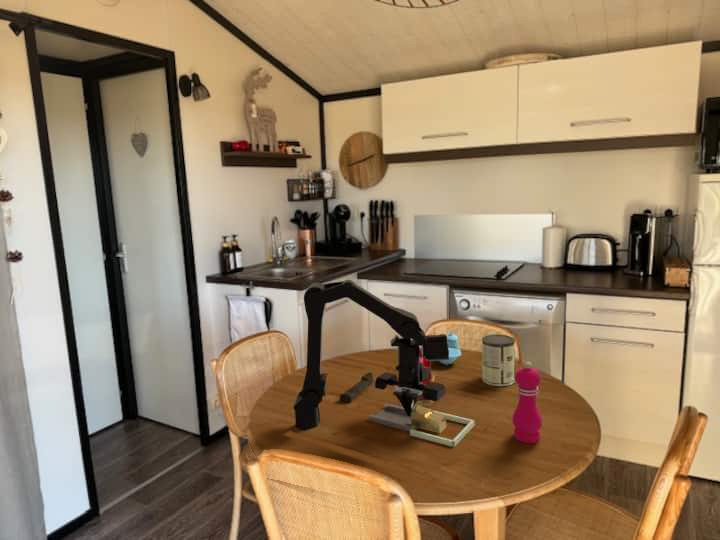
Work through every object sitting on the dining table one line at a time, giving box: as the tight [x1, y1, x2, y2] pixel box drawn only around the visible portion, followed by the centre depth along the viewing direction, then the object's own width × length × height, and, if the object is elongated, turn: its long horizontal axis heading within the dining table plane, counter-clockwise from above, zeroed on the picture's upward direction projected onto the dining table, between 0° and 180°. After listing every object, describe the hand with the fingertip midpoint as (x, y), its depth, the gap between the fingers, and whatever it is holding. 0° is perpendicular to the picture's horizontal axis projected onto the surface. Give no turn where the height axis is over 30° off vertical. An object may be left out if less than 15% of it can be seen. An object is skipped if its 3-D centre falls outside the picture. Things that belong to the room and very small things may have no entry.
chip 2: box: [425, 413, 447, 434], centre depth 135 cm, size 4×4×4 cm
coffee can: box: [481, 334, 516, 387], centre depth 167 cm, size 10×10×14 cm
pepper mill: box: [511, 361, 543, 444], centre depth 129 cm, size 7×7×20 cm
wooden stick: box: [339, 372, 374, 404], centre depth 161 cm, size 19×4×5 cm, turn 150°
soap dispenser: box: [439, 331, 462, 366], centre depth 188 cm, size 18×10×9 cm, turn 158°
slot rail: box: [367, 402, 419, 433], centre depth 141 cm, size 10×14×2 cm
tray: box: [409, 410, 476, 448], centre depth 134 cm, size 13×12×2 cm
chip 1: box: [411, 405, 433, 430], centre depth 137 cm, size 4×4×4 cm
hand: (410, 416), depth 139 cm, fingers closed
